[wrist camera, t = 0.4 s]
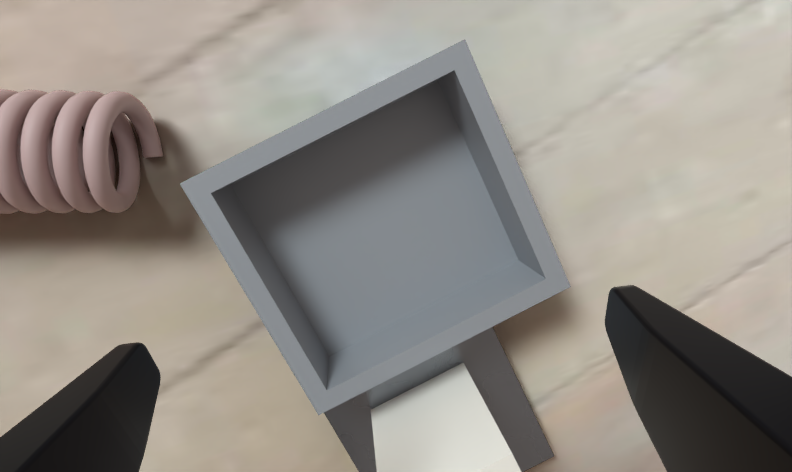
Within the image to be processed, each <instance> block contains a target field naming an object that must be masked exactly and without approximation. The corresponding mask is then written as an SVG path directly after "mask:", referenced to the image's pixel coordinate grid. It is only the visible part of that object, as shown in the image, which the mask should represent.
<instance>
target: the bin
mask: <svg viewBox="0 0 792 472" xmlns="http://www.w3.org/2000/svg"><path fill="white" fill-rule="evenodd" d="M180 185H181V187H182V189H183V190H184V192H185V194H186V195H187V197H188V199H189V200H190V202H191V204H192V205H193V207H194V209H195V210H196V212H197V214H198V215H199V217H200V219H201V220H202V222H203V224H204V225H205V227H206V228H207V230H208V232H209V233H210V235H211V237H212V238H213V240H214V242H215V243H216V245H217V247H218V248H219V250H220V252H221V253H222V255H223V257H224V258H225V260H226V262H227V263H228V265H229V267H230V268H231V270H232V272H233V273H234V275H235V277H236V278H237V280H238V282H239V283H240V285H241V287H242V288H243V290H244V292H245V293H246V295H247V297H248V298H249V300H250V302H251V303H252V305H253V307H254V308H255V310H256V312H257V313H258V315H259V317H260V318H261V320H262V322H263V323H264V325H265V327H266V328H267V330H268V332H269V333H270V335H271V337H272V338H273V340H274V342H275V343H276V345H277V347H278V348H279V350H280V352H281V353H282V355H283V357H284V358H285V360H286V362H287V363H288V365H289V367H290V368H291V370H292V372H293V373H294V375H295V377H296V378H297V380H298V382H299V383H300V385H301V387H302V388H303V390H304V392H305V393H306V395H307V397H308V398H309V400H310V402H311V403H312V405H313V407H314V408H315V410H316V412H317V413H318V415H320V414H322V413H324V412H326V411H328V410H330V409H332V408H334V407H336V406H338V405H340V404H342V403H344V402H346V401H347V400H349V399H351V398H353V397H355V396H357V395H359V394H361V393H363V392H365V391H367V390H369V389H371V388H373V387H375V386H377V385H379V384H381V383H383V382H385V381H387V380H389V379H391V378H393V377H395V376H397V375H398V374H400V373H402V372H404V371H406V370H408V369H410V368H412V367H414V366H416V365H418V364H420V363H422V362H424V361H426V360H428V359H430V358H432V357H434V356H436V355H438V354H440V353H442V352H444V351H446V350H448V349H450V348H451V347H453V346H455V345H457V344H459V343H461V342H463V341H465V340H467V339H469V338H471V337H473V336H475V335H477V334H479V333H481V332H483V331H485V330H487V329H489V328H491V327H493V326H495V325H497V324H499V323H501V322H502V321H504V320H506V319H508V318H510V317H512V316H514V315H516V314H518V313H520V312H522V311H524V310H526V309H528V308H530V307H532V306H534V305H536V304H538V303H540V302H542V301H544V300H546V299H548V298H550V297H552V296H553V295H555V294H557V293H559V292H561V291H563V290H565V289H567V288H569V287H571V286H570V284H569V282H568V279H567V277H566V275H565V272H564V270H563V268H562V265H561V263H560V261H559V258H558V256H557V254H556V251H555V249H554V247H553V244H552V242H551V239H550V237H549V235H548V232H547V230H546V228H545V225H544V223H543V221H542V218H541V216H540V214H539V211H538V209H537V207H536V204H535V202H534V200H533V197H532V195H531V193H530V190H529V188H528V186H527V183H526V181H525V179H524V176H523V174H522V172H521V169H520V167H519V165H518V162H517V160H516V158H515V155H514V153H513V151H512V148H511V146H510V144H509V141H508V139H507V137H506V134H505V132H504V130H503V127H502V125H501V123H500V120H499V118H498V116H497V113H496V111H495V109H494V106H493V104H492V102H491V99H490V97H489V95H488V92H487V90H486V88H485V85H484V83H483V80H482V78H481V76H480V73H479V71H478V69H477V66H476V64H475V62H474V59H473V57H472V55H471V52H470V50H469V48H468V45H467V43H466V41H465V40H463V41H461V42H459V43H457V44H455V45H453V46H451V47H449V48H447V49H445V50H443V51H441V52H439V53H437V54H435V55H433V56H431V57H429V58H427V59H425V60H423V61H421V62H419V63H417V64H415V65H413V66H411V67H409V68H407V69H405V70H403V71H401V72H399V73H397V74H395V75H393V76H391V77H389V78H387V79H385V80H383V81H381V82H379V83H378V84H376V85H374V86H372V87H370V88H368V89H366V90H364V91H362V92H360V93H358V94H356V95H354V96H352V97H350V98H348V99H346V100H344V101H342V102H340V103H338V104H336V105H334V106H332V107H330V108H328V109H326V110H324V111H322V112H320V113H318V114H316V115H314V116H312V117H310V118H308V119H306V120H304V121H302V122H300V123H298V124H296V125H294V126H292V127H290V128H288V129H286V130H284V131H283V132H281V133H279V134H277V135H275V136H273V137H271V138H269V139H267V140H265V141H263V142H261V143H259V144H257V145H255V146H253V147H251V148H249V149H247V150H245V151H243V152H241V153H239V154H237V155H235V156H233V157H231V158H229V159H227V160H225V161H223V162H221V163H219V164H217V165H215V166H213V167H211V168H209V169H207V170H205V171H203V172H201V173H199V174H197V175H195V176H193V177H191V178H189V179H187V180H186V181H184V182H182V183H180Z"/></svg>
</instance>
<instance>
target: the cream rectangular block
mask: <svg viewBox="0 0 792 472" xmlns="http://www.w3.org/2000/svg"><path fill="white" fill-rule="evenodd" d="M371 418H372V429H373V439H374V449H375V459H376V469H377V472H521V470H520V468H519V466H518V464H517V462H516V460H515V458H514V456H513V454H512V452H511V450H510V448H509V447H508V445H507V443H506V441H505V439H504V437H503V435H502V434H501V432H500V430H499V428H498V426H497V424H496V422H495V421H494V419H493V417H492V415H491V413H490V411H489V409H488V407H487V406H486V404H485V402H484V400H483V398H482V396H481V394H480V393H479V391H478V389H477V387H476V385H475V383H474V381H473V380H472V378H471V376H470V374H469V372H468V370H467V368H466V367H465V365H464V363H461V364H459V365H457V366H456V367H454V368H452V369H450V370H448V371H446V372H444V373H442V374H440V375H438V376H436V377H434V378H432V379H430V380H428V381H426V382H424V383H422V384H420V385H418V386H416V387H414V388H412V389H410V390H408V391H406V392H405V393H403V394H401V395H399V396H397V397H395V398H393V399H391V400H389V401H387V402H385V403H383V404H381V405H379V406H377V407H375V408H373V409H371Z"/></svg>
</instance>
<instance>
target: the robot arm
mask: <svg viewBox="0 0 792 472" xmlns="http://www.w3.org/2000/svg"><path fill="white" fill-rule="evenodd" d="M605 327H606V331H607V334H608V337H609V340H610V342H611V345H612V348H613V351H614V353H615V356H616V359H617V361H618V364H619V367H620V370H621V372H622V375H623V378H624V380H625V383H626V386H627V389H628V391H629V394H630V396H631V399H632V401H633V404H634V406H635V408H636V410H637V413H638V415H639V417H640V419H641V421H642V423H643V425H644V427H645V429H646V431H647V433H648V435H649V437H650V439H651V441H652V443H653V445H654V447H655V449H656V451H657V453H658V454H659V456H660V458H661V460H662V462H663V464H664V466H665V468H666V470H667V472H792V377H791V376H790V375H788V374H786V373H784V372H783V371H781V370H779V369H778V368H776V367H774V366H772V365H771V364H769V363H767V362H765V361H764V360H762V359H760V358H759V357H757V356H755V355H753V354H752V353H750V352H748V351H747V350H745V349H743V348H741V347H740V346H738V345H736V344H735V343H733V342H731V341H729V340H728V339H726V338H724V337H723V336H721V335H719V334H717V333H716V332H714V331H712V330H711V329H709V328H707V327H705V326H704V325H702V324H700V323H699V322H697V321H695V320H693V319H692V318H690V317H688V316H687V315H685V314H683V313H681V312H680V311H678V310H676V309H674V308H673V307H671V306H669V305H668V304H666V303H664V302H662V301H661V300H659V299H657V298H656V297H654V296H652V295H650V294H649V293H647V292H645V291H644V290H642V289H640V288H638V287H636V286H634V285H628V286H619V287H614V288H612V289H611V290H610V292H609V296H608V303H607V310H606V316H605ZM159 386H160V372H159V369H158V367H157V366H156V364H155V362H154V360H153V359H152V357H151V355H150V353H149V351H148V350H147V348H146V346H145V345H143V344H142V343H128V344H122V345H119V346H117V347H116V348H114V349H113V350H112V351H110V352H109V353H108V354H107V355H105V356H104V357H103V358H101V359H100V360H99V361H98V362H96V363H95V364H94V365H93V366H91V367H90V368H89V369H87V370H86V371H85V372H84V373H82V374H81V375H80V376H78V377H77V378H76V379H75V380H73V381H72V382H71V383H69V384H68V385H67V386H66V387H64V388H63V389H62V390H60V391H59V392H58V393H57V394H55V395H54V396H53V397H52V398H50V399H49V400H48V401H46V402H45V403H44V404H43V405H41V406H40V407H39V408H37V409H36V410H35V411H34V412H32V413H31V414H30V415H28V416H27V417H26V418H25V419H23V420H22V421H21V422H19V423H18V424H17V425H16V426H14V427H13V428H12V429H11V430H9V431H8V432H7V433H5V434H4V435H3V436H2V437H0V472H139V469H140V466H141V462H142V459H143V456H144V452H145V448H146V444H147V440H148V435H149V431H150V426H151V422H152V417H153V413H154V408H155V404H156V399H157V395H158V390H159Z"/></svg>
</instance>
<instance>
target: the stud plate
mask: <svg viewBox="0 0 792 472" xmlns="http://www.w3.org/2000/svg"><path fill="white" fill-rule="evenodd" d="M461 363H464V365H465V367H466V368H467V370H468V372H469V374H470V376H471V378H472V380H473V381H474V383H475V385H476V387H477V389H478V391H479V393H480V394H481V396H482V398H483V400H484V402H485V404H486V406H487V407H488V409H489V411H490V413H491V415H492V417H493V419H494V421H495V422H496V424H497V426H498V428H499V430H500V432H501V434H502V435H503V437H504V439H505V441H506V443H507V445H508V447H509V448H510V450H511V452H512V454H513V456H514V458H515V460H516V462H517V464H518V466H519V468H520V470H521V472H524V471H526V470H528V469H530V468H532V467H534V466H536V465H538V464H540V463H542V462H543V461H545V460H547V459H549V458H551V457H553V456H554V455H553V453H552V451H551V448H550V446H549V444H548V442H547V440H546V438H545V436H544V434H543V432H542V430H541V428H540V425H539V423H538V421H537V419H536V417H535V415H534V413H533V411H532V409H531V407H530V405H529V402H528V400H527V398H526V396H525V394H524V392H523V390H522V388H521V386H520V384H519V382H518V380H517V377H516V375H515V373H514V371H513V369H512V367H511V365H510V363H509V361H508V359H507V357H506V354H505V352H504V350H503V348H502V346H501V344H500V342H499V340H498V338H497V336H496V334H495V331H494V329H493V327H491V328H489V329H487V330H485V331H483V332H481V333H479V334H477V335H475V336H473V337H471V338H469V339H467V340H465V341H463V342H461V343H459V344H457V345H455V346H453V347H451V348H450V349H448V350H446V351H444V352H442V353H440V354H438V355H436V356H434V357H432V358H430V359H428V360H426V361H424V362H422V363H420V364H418V365H416V366H414V367H412V368H410V369H408V370H406V371H404V372H402V373H400V374H398V375H397V376H395V377H393V378H391V379H389V380H387V381H385V382H383V383H381V384H379V385H377V386H375V387H373V388H371V389H369V390H367V391H365V392H363V393H361V394H359V395H357V396H355V397H353V398H351V399H349V400H347V401H346V402H344V403H342V404H340V405H338V406H336V407H334V408H332V409H330V410H328V411H326V412H324V414H325V415H326V417H327V419H328V420H329V422H330V424H331V425H332V427H333V429H334V430H335V432H336V434H337V435H338V437H339V439H340V440H341V442H342V444H343V445H344V447H345V449H346V451H347V452H348V454H349V456H350V457H351V459H352V461H353V462H354V464H355V466H356V467H357V469H358V471H359V472H377V469H376V459H375V449H374V439H373V429H372V418H371V409H373V408H375V407H377V406H379V405H381V404H383V403H385V402H387V401H389V400H391V399H393V398H395V397H397V396H399V395H401V394H403V393H405V392H406V391H408V390H410V389H412V388H414V387H416V386H418V385H420V384H422V383H424V382H426V381H428V380H430V379H432V378H434V377H436V376H438V375H440V374H442V373H444V372H446V371H448V370H450V369H452V368H454V367H456V366H457V365H459V364H461Z"/></svg>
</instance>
